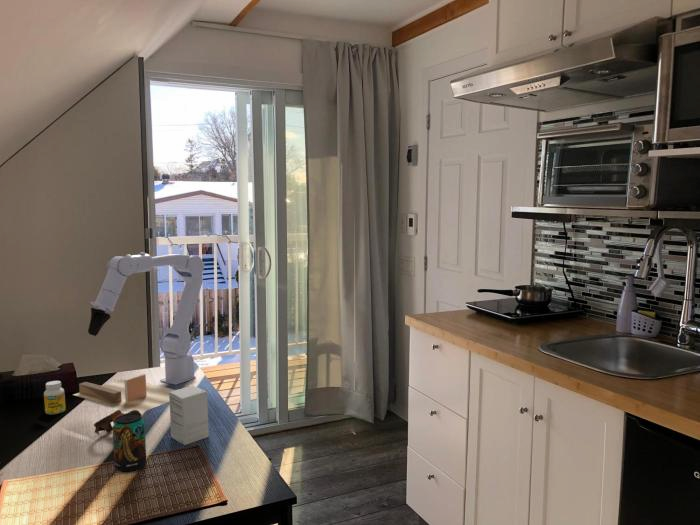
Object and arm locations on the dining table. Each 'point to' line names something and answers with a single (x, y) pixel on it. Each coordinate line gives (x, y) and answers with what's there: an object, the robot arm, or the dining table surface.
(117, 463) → the beverage can
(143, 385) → the tile
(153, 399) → the board
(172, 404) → the supplement box
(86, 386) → the brown wooden bar
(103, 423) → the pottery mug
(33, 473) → the dining table surface
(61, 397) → the supplement bottle
